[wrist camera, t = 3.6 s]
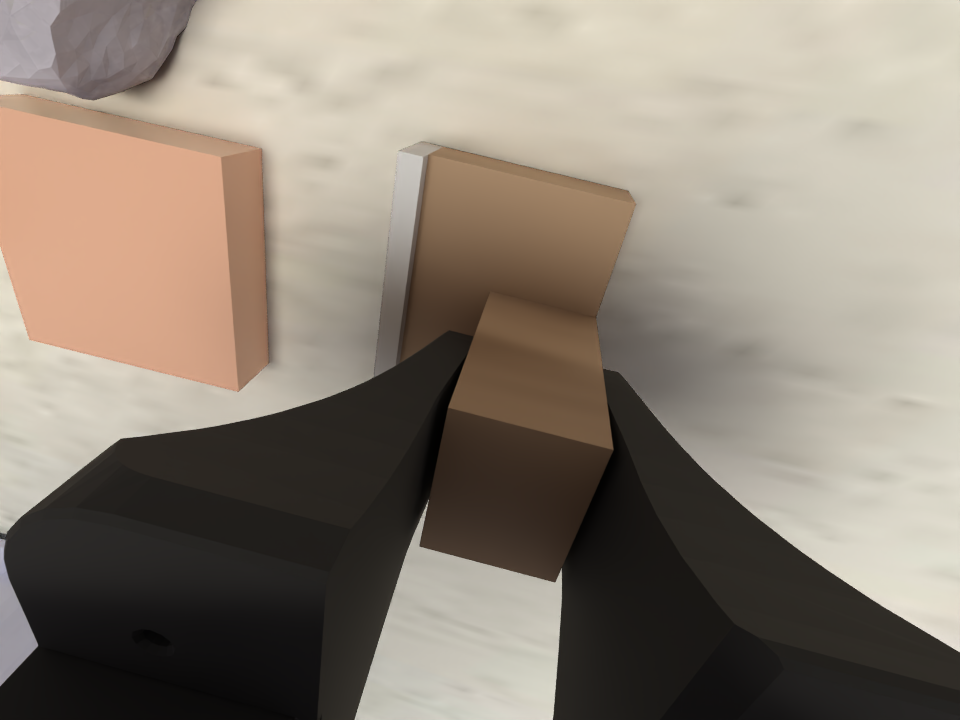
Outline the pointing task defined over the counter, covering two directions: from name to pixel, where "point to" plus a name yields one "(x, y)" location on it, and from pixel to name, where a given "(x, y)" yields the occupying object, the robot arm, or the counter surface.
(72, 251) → the terracotta tile
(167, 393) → the counter surface
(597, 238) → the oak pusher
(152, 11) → the stone block
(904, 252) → the counter surface
